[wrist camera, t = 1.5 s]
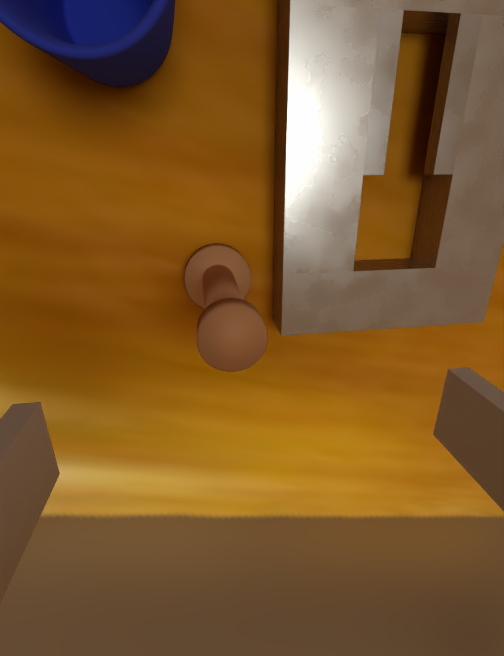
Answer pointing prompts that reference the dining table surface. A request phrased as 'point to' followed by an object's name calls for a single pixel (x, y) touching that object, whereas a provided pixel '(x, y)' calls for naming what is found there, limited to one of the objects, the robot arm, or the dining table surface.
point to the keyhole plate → (369, 159)
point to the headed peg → (225, 308)
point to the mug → (97, 34)
